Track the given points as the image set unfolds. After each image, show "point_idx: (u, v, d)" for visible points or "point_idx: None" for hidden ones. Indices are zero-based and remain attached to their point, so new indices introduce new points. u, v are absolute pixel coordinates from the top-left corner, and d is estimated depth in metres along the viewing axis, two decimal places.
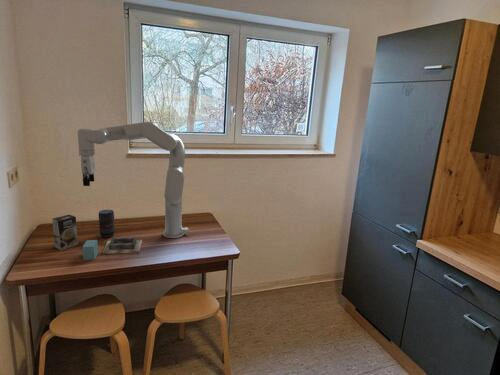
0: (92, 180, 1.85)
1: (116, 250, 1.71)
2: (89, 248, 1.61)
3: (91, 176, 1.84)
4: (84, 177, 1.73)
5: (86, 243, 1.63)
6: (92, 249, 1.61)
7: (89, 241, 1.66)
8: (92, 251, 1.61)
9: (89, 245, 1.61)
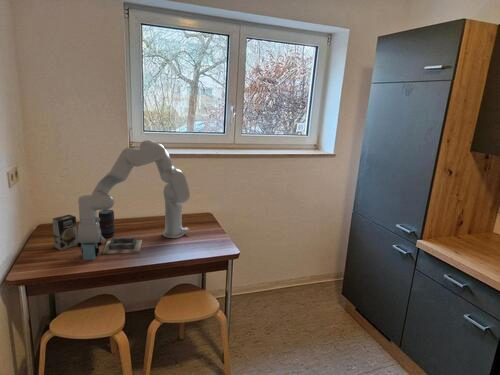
0: None
1: (116, 250, 1.71)
2: (89, 248, 1.61)
3: None
4: None
5: (85, 243, 1.63)
6: (92, 249, 1.61)
7: None
8: (92, 251, 1.61)
9: (89, 245, 1.61)
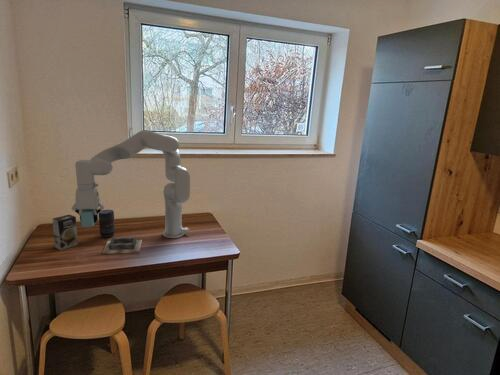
0: None
1: (116, 250, 1.71)
2: (88, 214, 1.56)
3: None
4: (98, 212, 1.61)
5: (84, 210, 1.59)
6: (90, 215, 1.57)
7: None
8: (90, 217, 1.57)
9: (87, 212, 1.57)
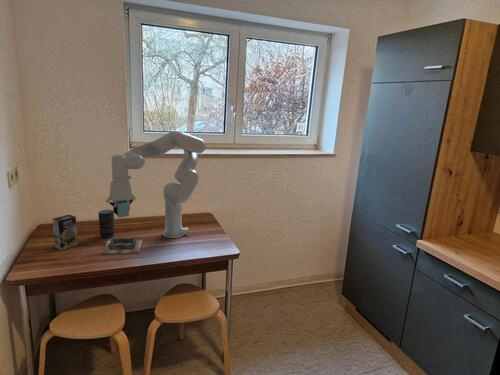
0: None
1: (116, 250, 1.71)
2: (125, 205, 1.68)
3: None
4: None
5: (118, 202, 1.69)
6: (127, 206, 1.69)
7: None
8: (127, 208, 1.69)
9: (123, 203, 1.69)
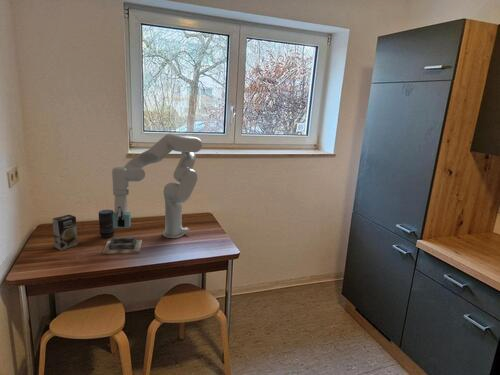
0: None
1: (116, 250, 1.71)
2: (130, 214, 1.74)
3: None
4: None
5: None
6: (130, 214, 1.75)
7: (116, 214, 1.71)
8: (130, 216, 1.75)
9: (127, 213, 1.73)
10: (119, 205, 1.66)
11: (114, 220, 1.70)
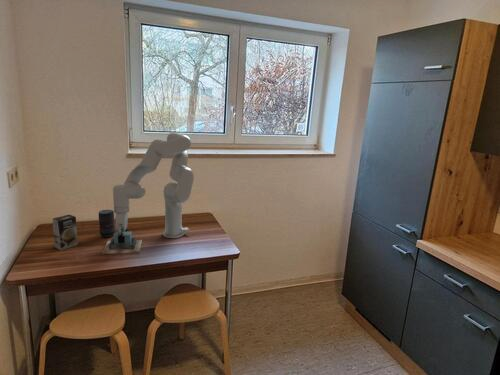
0: None
1: (116, 250, 1.71)
2: (131, 234, 1.77)
3: None
4: None
5: None
6: (131, 234, 1.78)
7: (117, 234, 1.74)
8: (131, 236, 1.79)
9: (128, 232, 1.76)
10: (120, 222, 1.68)
11: (115, 240, 1.73)
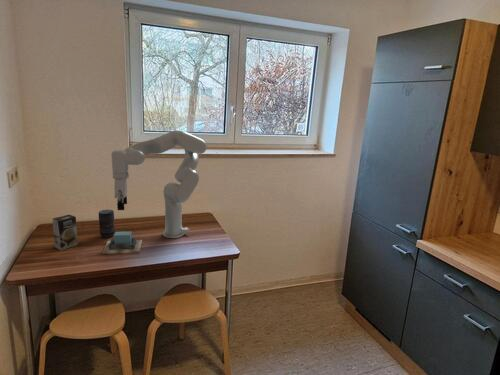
0: None
1: (116, 250, 1.71)
2: (131, 234, 1.77)
3: None
4: None
5: (123, 234, 1.74)
6: (131, 234, 1.78)
7: (117, 234, 1.74)
8: (131, 236, 1.79)
9: (128, 232, 1.76)
10: (119, 189, 1.64)
11: (115, 240, 1.73)
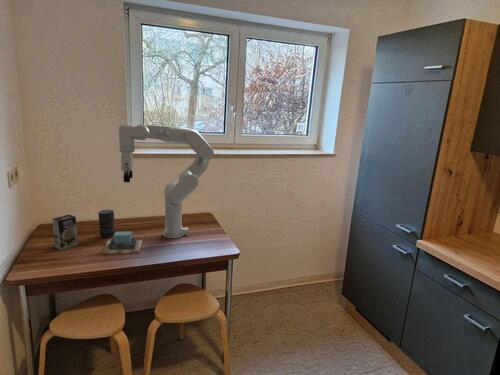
0: None
1: (116, 250, 1.71)
2: (131, 234, 1.77)
3: None
4: None
5: (123, 234, 1.74)
6: (131, 234, 1.78)
7: (117, 234, 1.74)
8: (131, 236, 1.79)
9: (128, 232, 1.76)
10: (125, 161, 1.73)
11: (115, 240, 1.73)
